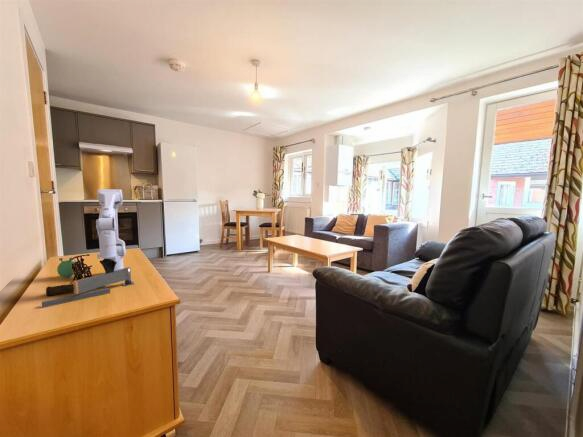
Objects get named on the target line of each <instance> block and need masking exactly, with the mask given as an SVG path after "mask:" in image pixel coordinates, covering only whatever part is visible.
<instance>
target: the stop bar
mask: <svg viewBox="0 0 583 437" xmlns="http://www.w3.org/2000/svg"><path fill="white" fill-rule="evenodd" d="M110 293H111V288H110V287H106V288H105V287H104V288H99V289H95V290H90V291H86V292H83V293H79V294H71V295H66V296H63V297H56V298H51V299H49V300H43V301H41V308H47V307H51V306H55V305H60V304H61V305H62V304H64V303H69V302H73V301H79V300H84V299H89V298H92V297H97V296H102V295H107V294H110Z"/></svg>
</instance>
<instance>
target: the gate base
mask: <svg viewBox="0 0 583 437" xmlns="http://www.w3.org/2000/svg"><path fill="white" fill-rule="evenodd" d="M132 285H135V283H134V281H132V280H131V283H130V284H125V282H122V287H127V286H132Z"/></svg>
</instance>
